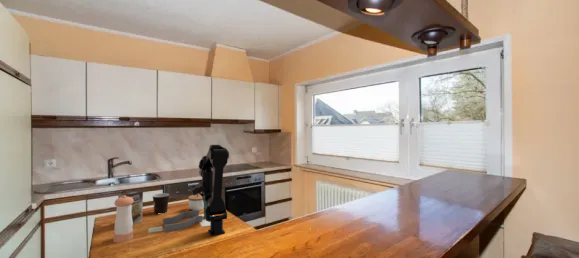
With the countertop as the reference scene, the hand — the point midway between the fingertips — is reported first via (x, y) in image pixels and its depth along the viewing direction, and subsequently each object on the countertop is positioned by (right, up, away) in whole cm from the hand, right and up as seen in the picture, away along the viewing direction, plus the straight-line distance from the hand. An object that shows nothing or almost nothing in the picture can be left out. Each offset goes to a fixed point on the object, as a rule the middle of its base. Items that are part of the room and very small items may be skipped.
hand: (207, 208), depth 137 cm
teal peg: (+1, -5, 0) cm, 5 cm away
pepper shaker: (-27, -5, -28) cm, 39 cm away
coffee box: (-35, -5, -11) cm, 37 cm away
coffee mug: (-29, -5, +7) cm, 30 cm away
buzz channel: (-9, -6, -9) cm, 14 cm away
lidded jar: (-11, -5, +15) cm, 19 cm away
